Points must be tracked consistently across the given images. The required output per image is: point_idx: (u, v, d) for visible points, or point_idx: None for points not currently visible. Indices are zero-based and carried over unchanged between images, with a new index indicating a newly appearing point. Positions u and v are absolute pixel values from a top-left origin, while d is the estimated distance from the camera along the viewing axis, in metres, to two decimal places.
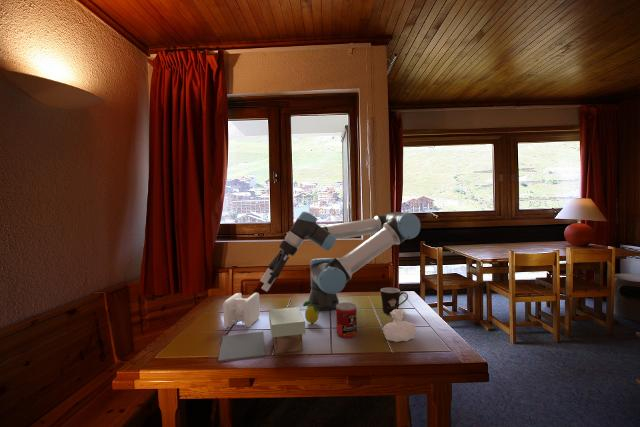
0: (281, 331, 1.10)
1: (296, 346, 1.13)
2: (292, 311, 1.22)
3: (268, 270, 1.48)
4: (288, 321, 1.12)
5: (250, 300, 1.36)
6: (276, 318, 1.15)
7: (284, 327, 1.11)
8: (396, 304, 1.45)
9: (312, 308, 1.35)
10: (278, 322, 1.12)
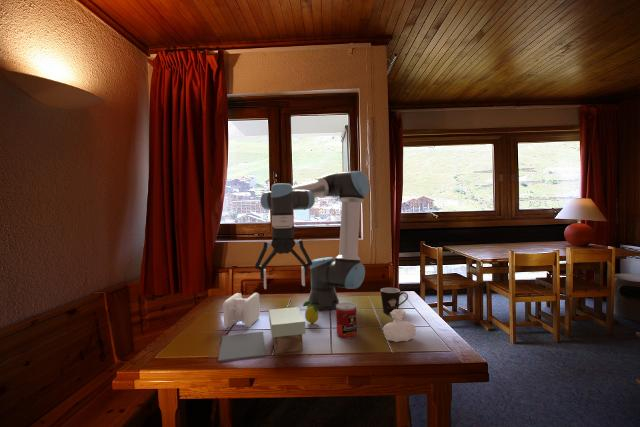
0: (281, 331, 1.10)
1: (296, 346, 1.13)
2: (292, 311, 1.22)
3: (265, 272, 1.16)
4: (288, 321, 1.12)
5: (250, 300, 1.36)
6: (276, 318, 1.15)
7: (284, 327, 1.11)
8: (396, 304, 1.45)
9: (312, 308, 1.35)
10: (278, 322, 1.12)
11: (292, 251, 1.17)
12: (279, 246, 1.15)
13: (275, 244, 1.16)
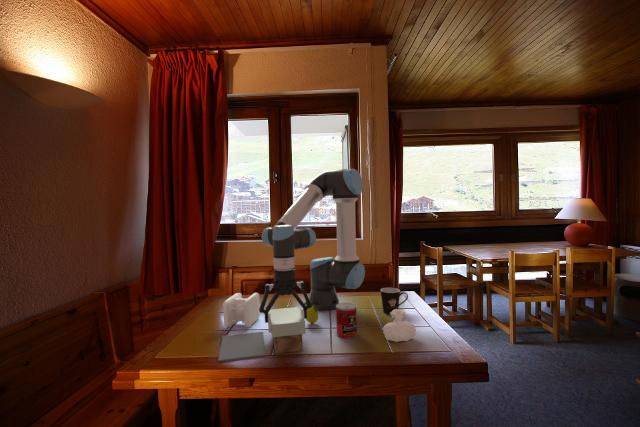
0: (281, 331, 1.10)
1: (296, 346, 1.13)
2: (292, 311, 1.22)
3: None
4: (288, 321, 1.12)
5: (250, 300, 1.36)
6: (276, 318, 1.15)
7: (284, 327, 1.11)
8: (396, 304, 1.45)
9: (312, 308, 1.35)
10: (278, 322, 1.12)
11: (293, 293, 1.17)
12: (281, 288, 1.16)
13: (277, 286, 1.16)
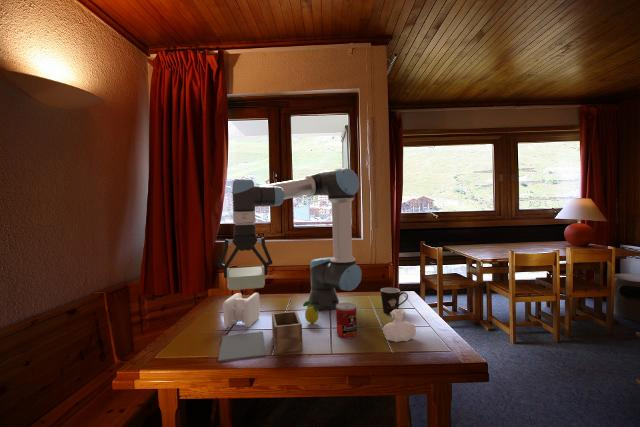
0: (238, 284, 1.08)
1: (296, 346, 1.13)
2: (253, 269, 1.20)
3: (229, 271, 1.15)
4: (246, 275, 1.10)
5: (250, 300, 1.36)
6: (235, 273, 1.13)
7: (242, 280, 1.09)
8: (396, 304, 1.45)
9: (312, 308, 1.35)
10: (236, 275, 1.10)
11: (253, 248, 1.15)
12: (240, 243, 1.14)
13: (236, 241, 1.15)
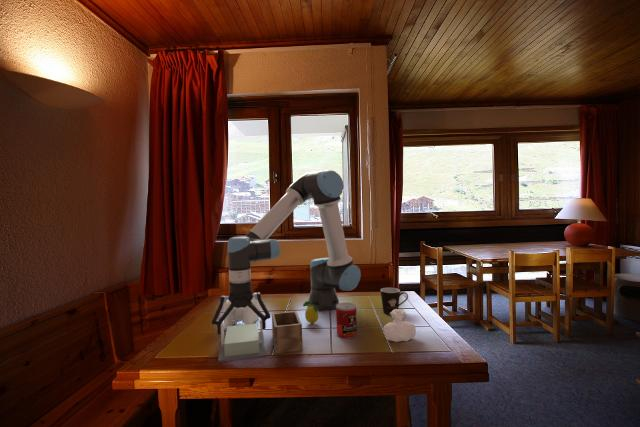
0: (234, 351, 1.09)
1: (296, 346, 1.13)
2: (249, 328, 1.21)
3: (223, 327, 1.15)
4: (242, 340, 1.11)
5: None
6: (231, 337, 1.14)
7: (237, 346, 1.09)
8: (396, 304, 1.45)
9: (312, 308, 1.35)
10: (231, 341, 1.10)
11: (249, 305, 1.16)
12: (236, 301, 1.15)
13: (232, 298, 1.15)
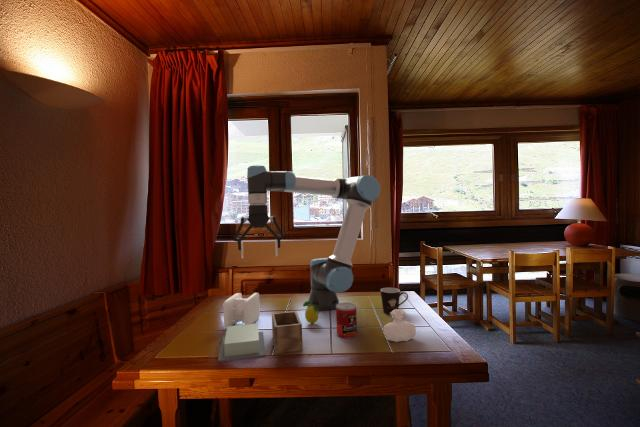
0: (234, 351, 1.09)
1: (296, 346, 1.13)
2: (249, 328, 1.21)
3: (242, 244, 1.32)
4: (242, 340, 1.11)
5: (250, 300, 1.36)
6: (231, 337, 1.14)
7: (237, 346, 1.09)
8: (396, 304, 1.45)
9: (312, 308, 1.35)
10: (231, 341, 1.10)
11: (266, 225, 1.32)
12: (254, 221, 1.31)
13: (251, 219, 1.32)
